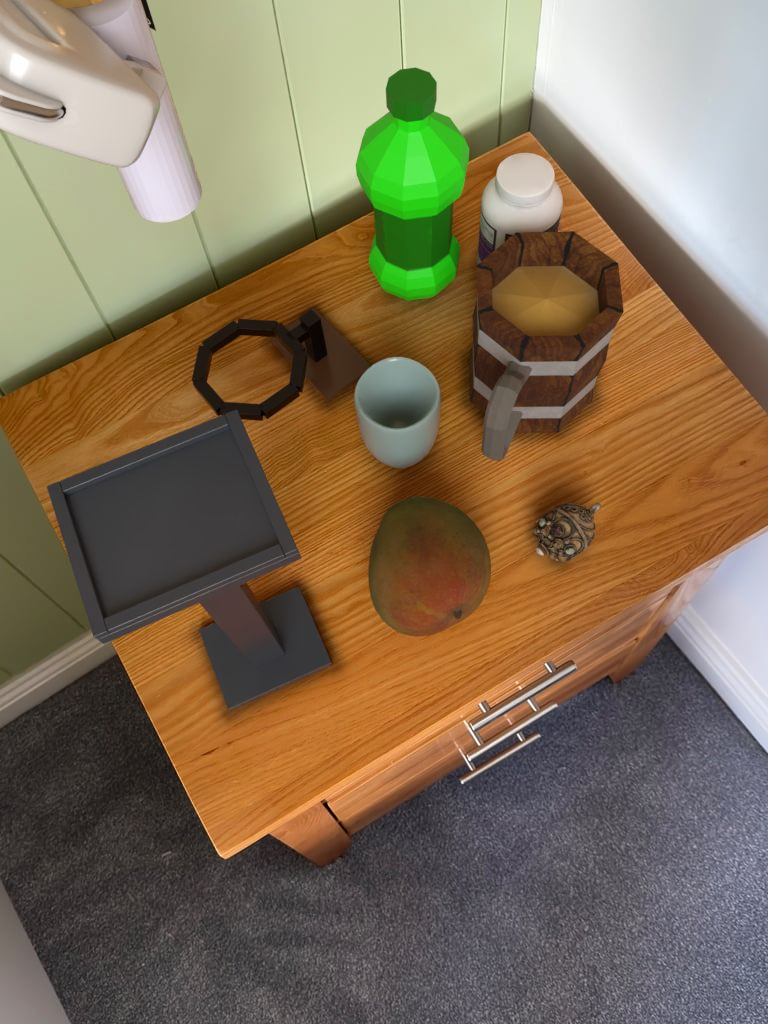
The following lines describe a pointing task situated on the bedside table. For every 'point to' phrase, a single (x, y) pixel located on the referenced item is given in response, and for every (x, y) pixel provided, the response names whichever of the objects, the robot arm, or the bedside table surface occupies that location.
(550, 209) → the pill bottle
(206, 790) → the bedside table surface
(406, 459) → the cup
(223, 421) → the pedestal tray stand
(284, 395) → the ring stand
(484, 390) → the mug
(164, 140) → the perfume bottle
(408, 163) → the plastic bottle
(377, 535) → the fruit
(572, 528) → the pendant
